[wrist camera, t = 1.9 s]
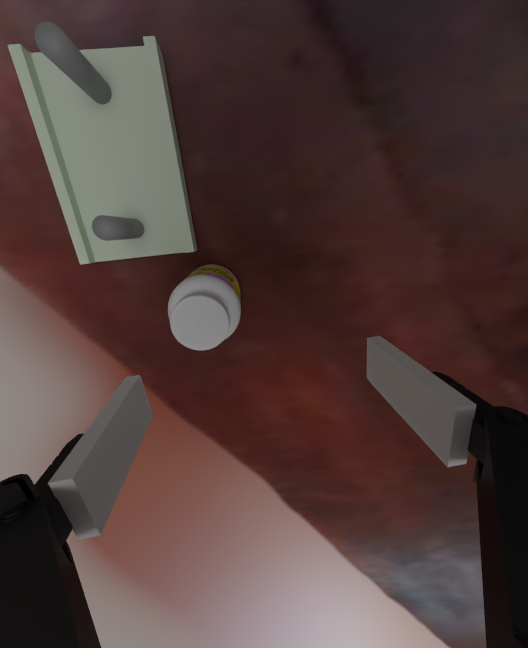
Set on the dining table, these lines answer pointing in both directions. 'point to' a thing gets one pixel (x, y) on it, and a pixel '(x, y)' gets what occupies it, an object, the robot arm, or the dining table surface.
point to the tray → (108, 145)
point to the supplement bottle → (205, 307)
